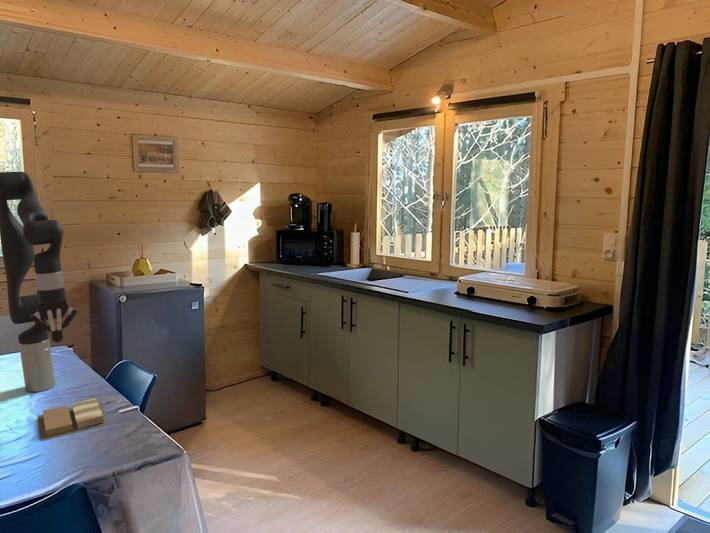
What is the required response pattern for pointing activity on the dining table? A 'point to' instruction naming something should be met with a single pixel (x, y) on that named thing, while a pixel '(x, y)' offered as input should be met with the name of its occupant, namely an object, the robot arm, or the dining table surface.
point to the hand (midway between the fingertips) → (57, 341)
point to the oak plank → (87, 413)
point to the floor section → (63, 422)
